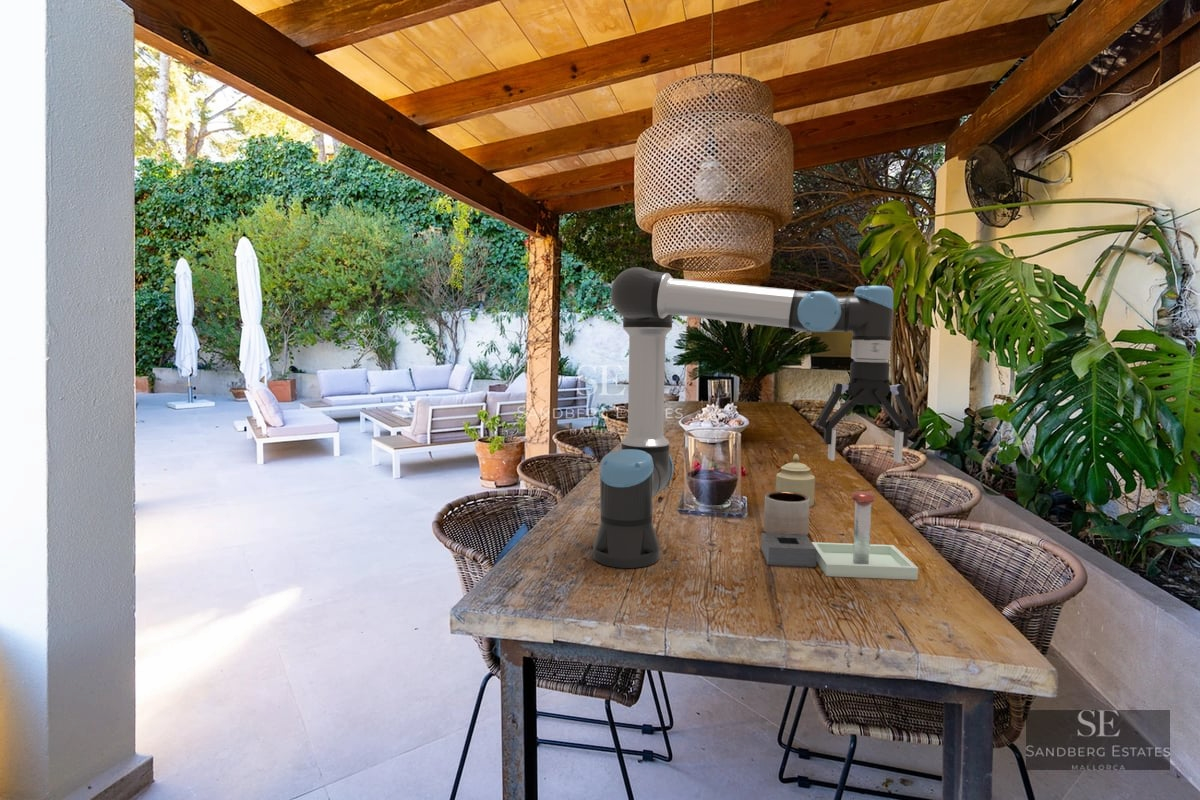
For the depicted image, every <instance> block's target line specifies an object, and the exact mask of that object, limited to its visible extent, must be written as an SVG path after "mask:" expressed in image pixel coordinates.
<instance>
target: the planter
mask: <svg viewBox="0 0 1200 800" xmlns="http://www.w3.org/2000/svg"><path fill="white" fill-rule="evenodd" d="M763 531H764V533H781V534H806V535H807V536H808V535H809V532H810V507H809V497H808V496H806V495H803V494H800V493H795V492H785V491H777V492H776V491H771V492H766V493H765V494H764V515H763Z"/></svg>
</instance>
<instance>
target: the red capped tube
mask: <svg viewBox="0 0 1200 800" xmlns="http://www.w3.org/2000/svg"><path fill="white" fill-rule="evenodd" d="M851 494H852V496H851V500H853V501H854V523H853V524H854V525H853V544H854V546H853V563H854V564H869V549H870V544H871V543H870V542H871V522H872V521H871V517H872V503H873V502H875V495H876V494H875V493H872V492H867V491H854V492H851Z"/></svg>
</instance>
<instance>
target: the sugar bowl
mask: <svg viewBox="0 0 1200 800" xmlns="http://www.w3.org/2000/svg"><path fill="white" fill-rule="evenodd" d="M792 460H793V461H792V462H789V463H786V464H784V465H782V466H781V471H780V472H777V473H776V476H775V477H776V478H775V492H777V491H785V492H795V493H800V494H803V495H806V496H808V497H809V508H810V507H813V506H814V504H815V489H816V488H815V487H816V477H815V475H813V474H812V473H811V472H810V470H811V467H809V466H808V465H807V464H805V463H802V462H799V461H800V460H801V459H800V456H799V454H797V453H795V454H794V455H793V457H792Z"/></svg>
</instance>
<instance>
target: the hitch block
mask: <svg viewBox="0 0 1200 800" xmlns="http://www.w3.org/2000/svg"><path fill="white" fill-rule="evenodd" d="M812 542H813V541H811V539H810V538H809V537H808V535H806V534H781V533H766V532H761V543H760V544H761V547H760V548H761V552H762V555H763V557H764V559H765V562H766V564H767V566H779V567H801V568H802V567H807V568H816V566H817V561H816V548H815V546H814V545H813V544H812Z"/></svg>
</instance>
